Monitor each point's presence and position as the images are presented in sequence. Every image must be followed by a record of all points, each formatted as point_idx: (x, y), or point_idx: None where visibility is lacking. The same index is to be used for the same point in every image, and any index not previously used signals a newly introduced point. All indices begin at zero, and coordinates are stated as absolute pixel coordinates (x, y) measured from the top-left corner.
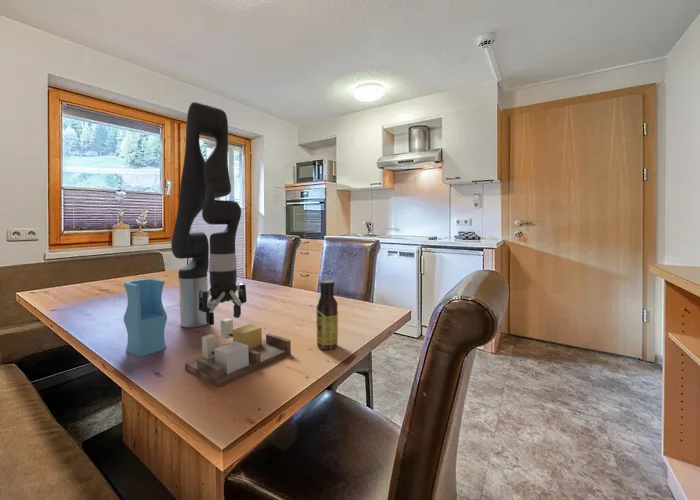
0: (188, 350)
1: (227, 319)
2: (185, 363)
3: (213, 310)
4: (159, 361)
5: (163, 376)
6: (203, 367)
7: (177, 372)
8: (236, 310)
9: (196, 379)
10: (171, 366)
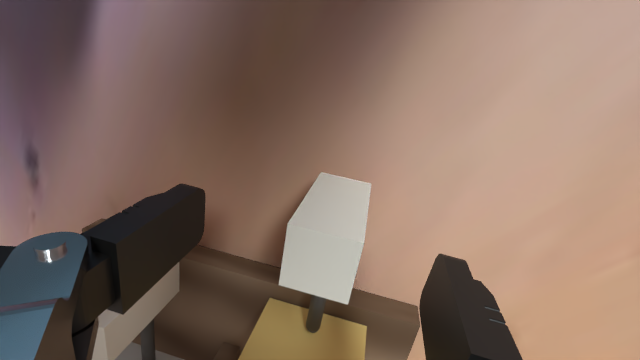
0: (186, 76)
1: (327, 267)
2: (82, 232)
3: (92, 340)
4: (60, 66)
5: (40, 197)
6: None
7: (77, 215)
8: (433, 351)
9: None
10: (78, 157)
